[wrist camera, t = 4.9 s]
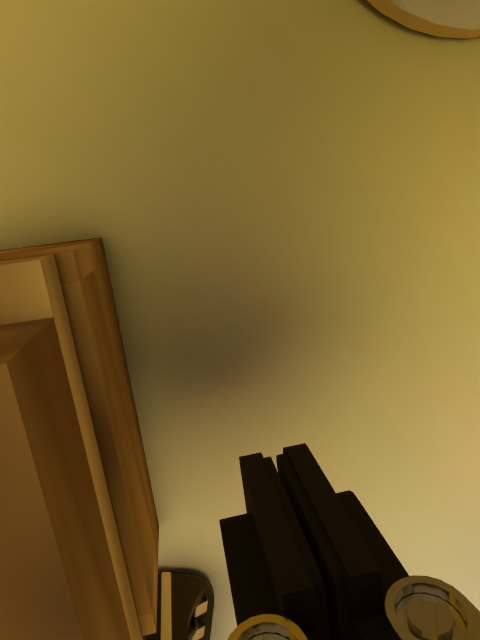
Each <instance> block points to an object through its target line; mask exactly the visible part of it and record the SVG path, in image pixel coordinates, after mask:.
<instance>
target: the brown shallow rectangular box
mask: <svg viewBox="0 0 480 640" xmlns="http://www.w3.org/2000/svg"><path fill="white" fill-rule="evenodd" d="M52 254H54V258H55V262H56V267H57V271H58V275H59V280H60V284H61V288H62V293H63V297H64V301H65V306H66V310H67V314H68V319H69V323H70V327H71V332H72V336H73V340H74V345H75V349H76V353H77V358H78V362H79V366H80V371H81V375H82V379H83V384H84V388H85V392H86V397H87V401H88V405H89V410H90V414H91V418H92V423H93V427H94V431H95V436H96V440H97V444H98V449H99V453H100V457H101V462H102V466H103V470H104V475H105V479H106V483H107V488H108V492H109V496H110V501H111V505H112V509H113V514H114V518H115V522H116V527H117V531H118V535H119V540H120V544H121V548H122V553H123V557H124V561H125V566H126V570H127V574H128V579H129V583H130V587H131V592H132V596H133V600H134V605H135V609H136V613H137V618H138V622H139V626H140V631H141V635H142V636H144V635H149V634H153V633H156V626H157V584H158V542H159V524H158V519H157V514H156V509H155V504H154V499H153V494H152V489H151V484H150V479H149V474H148V469H147V464H146V458H145V453H144V448H143V443H142V438H141V433H140V428H139V423H138V418H137V413H136V408H135V403H134V398H133V393H132V388H131V383H130V378H129V373H128V368H127V363H126V358H125V353H124V348H123V343H122V338H121V333H120V328H119V323H118V318H117V313H116V308H115V303H114V298H113V293H112V287H111V282H110V277H109V272H108V267H107V262H106V257H105V252H104V247H103V242H102V238H95V239H87V240H79V241H71V242H63V243H55V244H47V245H39V246H31V247H23V248H15V249H7V250H0V261H5V260H13V259H20V258H28V257H36V256H44V255H52Z"/></svg>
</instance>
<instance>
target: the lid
mask: <svg viewBox="0 0 480 640" xmlns="http://www.w3.org/2000/svg"><path fill="white" fill-rule="evenodd" d="M0 640H143V639H142V635H141V631H140V626H139V622H138V618H137V613H136V609H135V605H134V600H133V596H132V592H131V587H130V583H129V579H128V574H127V570H126V566H125V561H124V557H123V553H122V548H121V544H120V540H119V535H118V531H117V527H116V522H115V518H114V514H113V509H112V505H111V501H110V496H109V492H108V488H107V483H106V479H105V475H104V470H103V466H102V462H101V457H100V453H99V449H98V444H97V440H96V436H95V431H94V427H93V423H92V418H91V414H90V410H89V405H88V401H87V397H86V392H85V388H84V384H83V379H82V375H81V371H80V366H79V362H78V358H77V353H76V349H75V345H74V340H73V336H72V332H71V327H70V323H69V319H68V314H67V310H66V306H65V301H64V297H63V293H62V288H61V284H60V280H59V275H58V271H57V267H56V262H55V258H54V254H52V255H44V256H36V257H28V258H20V259H13V260H5V261H0Z"/></svg>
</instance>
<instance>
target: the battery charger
mask: <svg viewBox="0 0 480 640" xmlns="http://www.w3.org/2000/svg"><path fill="white" fill-rule="evenodd" d="M213 608H214V593H213V588H212V585H211V583H210V582H209V581H208V580H207V579H206V578H204V577H201V576H198V575H193V574H185V573H183V574H171V572H161V574H158V584H157V626H156V633H153V634H149V635H144V636H142V639H143V640H210V633H211V625H212V616H213Z"/></svg>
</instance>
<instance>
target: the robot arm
mask: <svg viewBox="0 0 480 640" xmlns="http://www.w3.org/2000/svg"><path fill="white" fill-rule="evenodd" d="M367 1H368V2H369V3H370V4H371V5H372V6H374V7H375V8H376V9H377V10H378V11H379V12H380V13H382V14H384V15H386V16H388V17H389V18H391V19H393V20H395V21H397V22H398V23H400V24H402V25H404V26H406V27H407V28H409V29H412V30H416V31H419V32H423V33H426V34H430V35H433V36H437V37H448V38H474V37H479V36H480V0H367ZM276 459H277V468H278V472H277V470H276V468H275V465H274V463H273V461H272V458H271V457H266V458H263V456H262V454H261V453H256V454H251V455H246V456H241V457H239V460H240V468H241V475H242V482H243V489H244V496H245V502H246V509H247V514H243V515H238V516H234V517H230V518H225V519H221V520H219V521H220V527H221V533H222V539H223V545H224V551H225V557H226V563H227V569H228V575H229V581H230V587H231V593H232V598H233V604H234V610H235V616H236V622H237V627H236V629H235V630H234V631H233V632H232V633H231V634H230V636H229V638H228V640H480V611H479V610H478V609H477V608H476V607H475V606H474V605H473V604H472V603H471V602H470V601H469V600H468V599H467V598H466V597H465V596H464V595H463V594H461V593H460V592H459V591H458V590H457V589H455V588H454V587H453V586H451V585H449V584H447V583H445V582H443V581H441V580H439V579H436V578H432V577H428V576H409V575H408V573H407V572H406V570H405V569H404V567H403V566H402V564H401V563H400V561H399V560H398V558H397V557H396V555H395V554H394V552H393V551H392V549H391V548H390V546H389V545H388V543H387V542H386V540H385V539H384V537H383V536H382V534H381V533H380V531H379V530H378V528H377V527H376V525H375V524H374V522H373V521H372V519H371V518H370V516H369V515H368V513H367V512H366V510H365V509H364V507H363V506H362V504H361V503H360V501H359V500H358V498H357V497H356V496H355V494H354V493H353V492H352V491H350V490H349V491H345V492H340V493H335V491H334V490H333V488H332V486H331V485H330V483H329V481H328V480H327V478H326V476H325V475H324V473H323V471H322V470H321V468H320V466H319V465H318V463H317V461H316V460H315V458H314V456H313V455H312V453H311V451H310V450H309V448H308V446H307V445H306V444H305V443H304V444H299V445H294V446H289V447H285V448H283V454H280V455H277V457H276Z"/></svg>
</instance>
